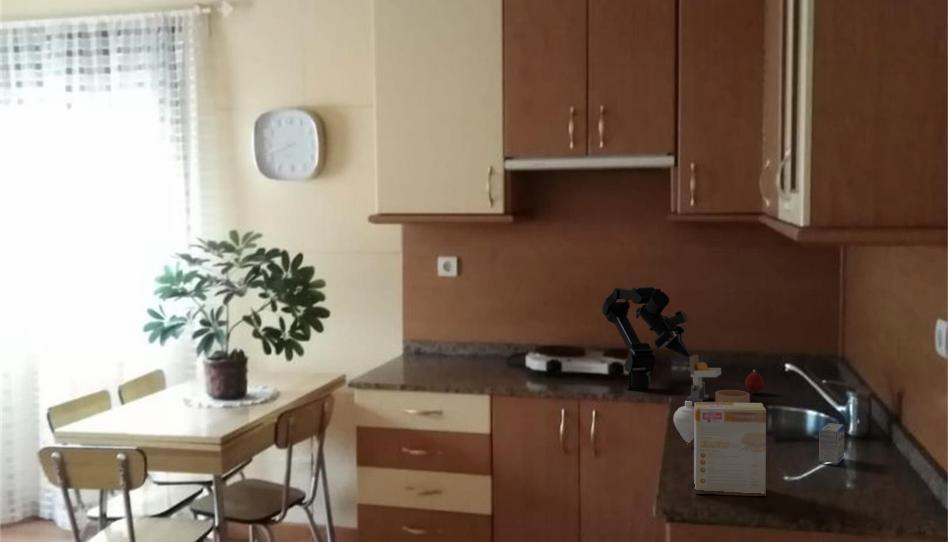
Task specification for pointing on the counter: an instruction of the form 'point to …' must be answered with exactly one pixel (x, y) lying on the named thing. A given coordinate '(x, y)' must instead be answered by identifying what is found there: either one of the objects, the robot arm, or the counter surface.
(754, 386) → the onion
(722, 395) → the pinkish brown round bowl
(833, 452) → the medicine box
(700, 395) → the stand
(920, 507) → the counter surface
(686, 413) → the spinning top
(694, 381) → the lever chute
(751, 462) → the coffeecake box
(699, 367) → the ball
